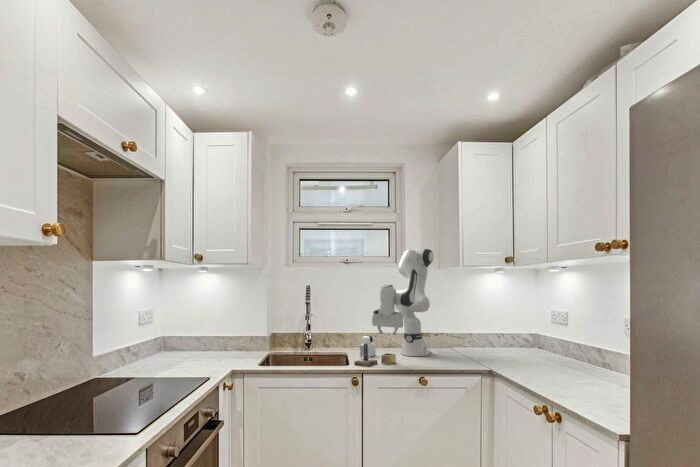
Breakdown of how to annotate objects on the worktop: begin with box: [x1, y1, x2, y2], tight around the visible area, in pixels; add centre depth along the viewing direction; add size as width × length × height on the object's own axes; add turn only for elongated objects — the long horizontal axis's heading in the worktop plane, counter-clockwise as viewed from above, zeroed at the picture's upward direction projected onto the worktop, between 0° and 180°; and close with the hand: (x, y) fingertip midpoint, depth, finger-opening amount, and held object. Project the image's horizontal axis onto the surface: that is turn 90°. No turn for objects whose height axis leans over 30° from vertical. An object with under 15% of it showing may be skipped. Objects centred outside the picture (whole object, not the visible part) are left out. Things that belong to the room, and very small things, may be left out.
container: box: [359, 335, 377, 358], centre depth 270 cm, size 8×8×13 cm
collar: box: [380, 352, 397, 365], centre depth 248 cm, size 6×6×5 cm
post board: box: [353, 343, 378, 367], centre depth 245 cm, size 10×10×12 cm
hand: (387, 334), depth 249 cm, fingers open, 8 cm apart
